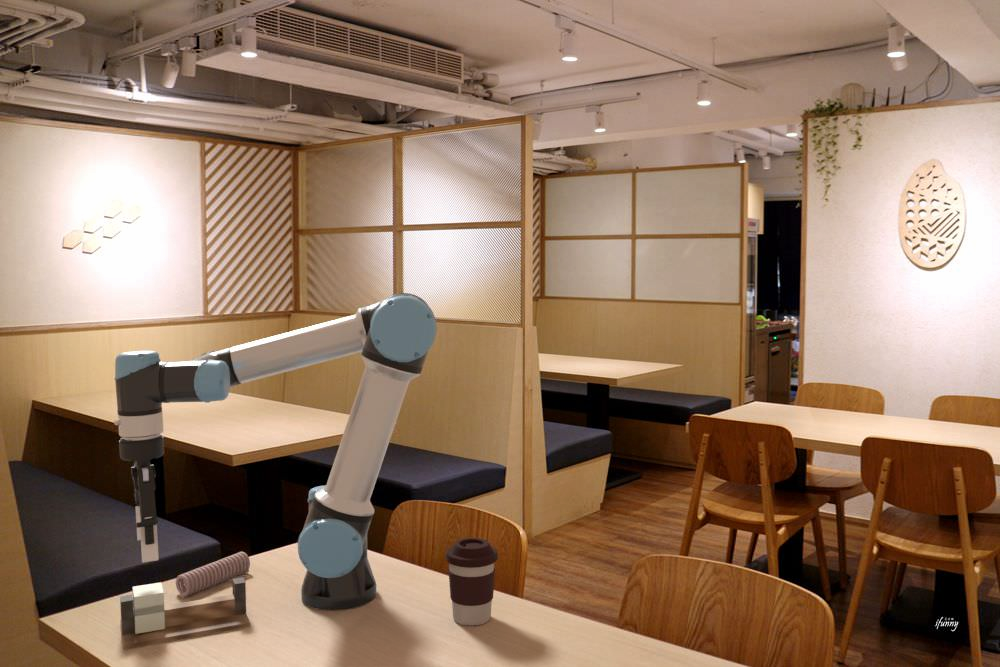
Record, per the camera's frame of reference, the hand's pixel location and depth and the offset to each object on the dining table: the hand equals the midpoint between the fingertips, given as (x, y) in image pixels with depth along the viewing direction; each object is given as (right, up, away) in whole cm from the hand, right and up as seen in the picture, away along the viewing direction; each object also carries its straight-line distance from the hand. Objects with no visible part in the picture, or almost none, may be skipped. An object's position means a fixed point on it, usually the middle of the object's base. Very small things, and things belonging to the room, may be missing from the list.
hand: (147, 549), depth 159 cm
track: (+5, -15, +4) cm, 17 cm away
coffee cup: (+60, -15, +7) cm, 62 cm away
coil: (+4, -14, +26) cm, 29 cm away
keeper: (0, -14, +1) cm, 15 cm away
